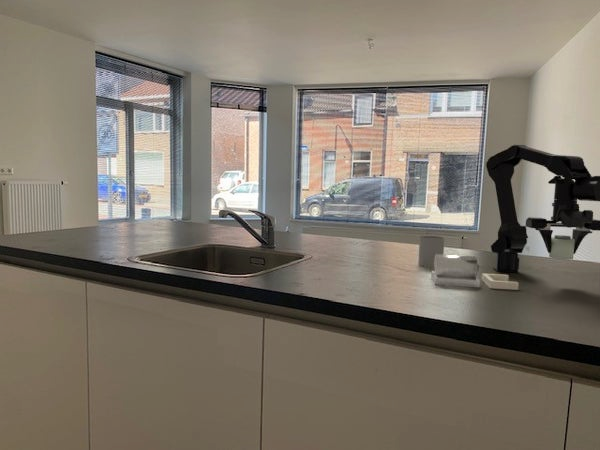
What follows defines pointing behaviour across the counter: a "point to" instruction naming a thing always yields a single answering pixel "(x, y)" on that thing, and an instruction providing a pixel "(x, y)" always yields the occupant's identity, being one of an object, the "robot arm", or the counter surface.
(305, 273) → the counter surface
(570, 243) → the frosted cube with recess
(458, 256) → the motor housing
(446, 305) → the counter surface
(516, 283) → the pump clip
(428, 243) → the cup
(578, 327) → the counter surface
